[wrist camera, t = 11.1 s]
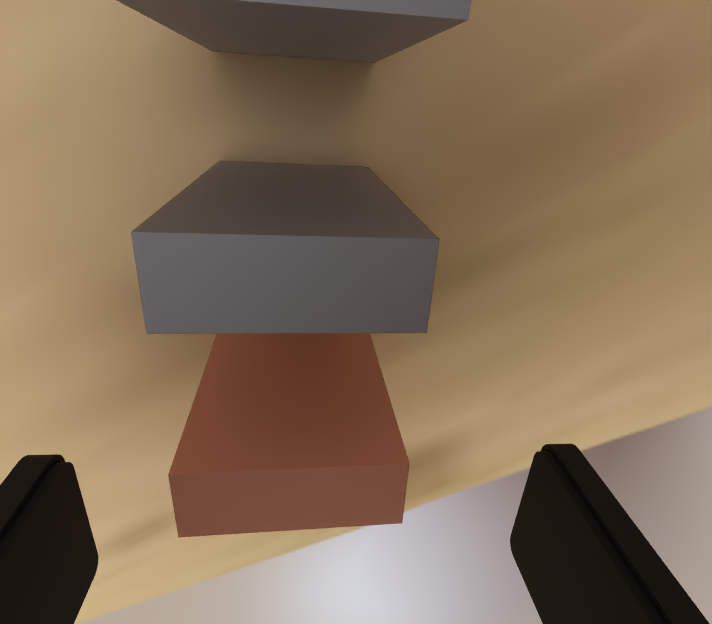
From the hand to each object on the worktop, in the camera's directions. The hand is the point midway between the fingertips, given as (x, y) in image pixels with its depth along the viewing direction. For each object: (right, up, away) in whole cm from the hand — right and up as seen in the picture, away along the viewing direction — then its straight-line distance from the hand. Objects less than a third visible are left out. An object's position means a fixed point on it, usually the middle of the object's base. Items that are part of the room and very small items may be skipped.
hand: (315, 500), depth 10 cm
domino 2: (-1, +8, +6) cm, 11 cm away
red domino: (-2, +4, +9) cm, 9 cm away
